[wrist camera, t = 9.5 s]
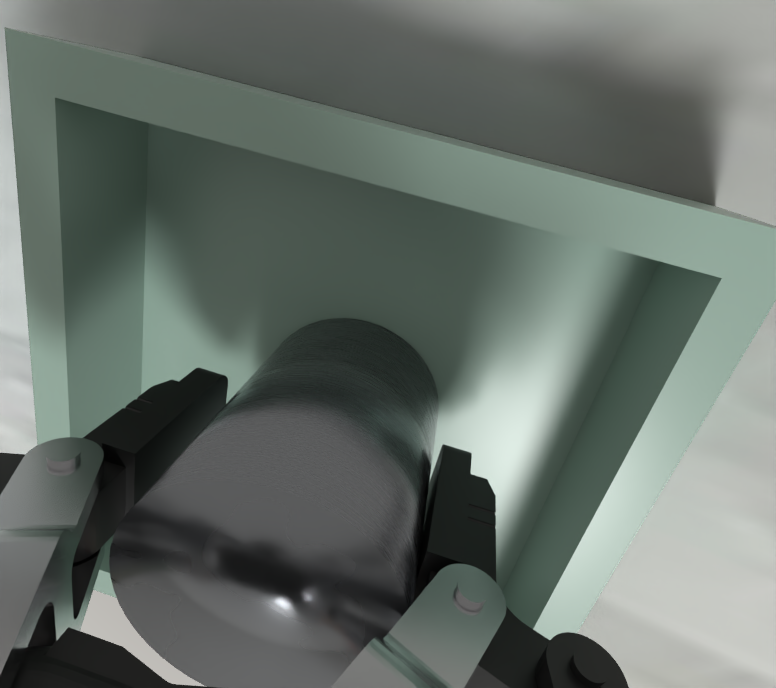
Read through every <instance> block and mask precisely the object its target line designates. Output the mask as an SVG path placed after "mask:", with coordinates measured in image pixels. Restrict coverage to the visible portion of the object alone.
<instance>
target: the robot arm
mask: <svg viewBox="0 0 776 688" xmlns="http://www.w3.org/2000/svg"><path fill="white" fill-rule="evenodd" d="M227 389H228V378H227V377H226V376H225V375H222V374H218V373H215V372H212V371H209V370H206V369H202V368H196V369H194V370H193V371H192V372H190V373H189V374H188V375H187V376H185V377H184V378H183V379H181V380H180V381H176V380H169V381H166V382H163V383H160V384H157V385H154V386H152V387H150V388H149V389H148V390H146V391H145V392H144V393H142V394H141V395H140V396H138V398H137V400H136V399H134V400H133V401H132V402H130V403H129V404H128V405H126V407H125V408H122V409H121V410H120V411H118V412H117V413H115V414H114V415H113V416H111V417H110V418H109V419H107V420H106V421H105V422H103V423H102V424H101V425H99V426H98V427H97V428H95V429H94V430H93V431H91V432H90V433H89V434H87V435H86V436H85V437H83V438H78V437H66V438H58V439H53V440H50V441H47V442H44V443H41V444H39V445H37V446H36V447H34V448H33V449H31V450H30V451H29V452H28V453H26V455H23V454H10V453H0V688H218V687H203V686H188V685H176V684H171V683H168V682H167V681H165V680H164V679H162V678H161V677H160V676H159V675H157V674H156V673H155V672H154V671H153V670H151V669H150V668H149V667H147V666H146V665H145V664H143V663H142V662H141V661H140V660H139V659H137V658H136V657H135V656H133V655H132V654H131V653H130V652H128V651H127V650H126V649H125V648H123V647H122V646H119V645H116V644H113V643H111V642H108V641H105V640H102V639H100V638H97V637H94V636H91V635H89V634H86V633H83V632H80V629H81V626H82V622H83V620H84V616H85V613H86V610H87V607H88V604H89V601H90V598H91V594H92V591H93V588H94V585H95V582H96V579H97V576H98V573H99V570H100V567H101V563H102V560H103V557H104V553H105V543H106V542H107V541H108V540H109V539H110V538H111V537H112V536H113V534H114V533H115V531H116V529H117V528H118V526H119V524H120V522H121V520H122V519H123V518H124V517H125V515H126V514H127V513H128V512H129V510H130V509H131V508H132V507H133V506H134V505H135V504H136V503H137V502H138V500H139V499H140V498H141V497H142V496H143V495H144V494H145V493H146V492H147V491H148V489H149V488H150V487H151V486H152V485H153V484H154V483H155V482H156V481H157V480H158V478H159V477H160V476H161V475H162V474H163V473H164V472H165V471H166V470H167V469H168V467H169V466H170V465H171V464H172V463H173V462H174V461H175V460H176V459H177V458H178V456H179V455H180V454H181V453H182V452H183V451H184V450H185V449H186V448H187V447H188V445H189V444H190V443H191V442H192V441H193V440H194V439H195V438H196V437H197V436H198V434H199V433H200V432H201V431H202V430H203V429H204V428H205V427H206V426H207V425H208V423H209V422H210V421H211V420H212V419H213V418H214V417H215V416H216V415H217V414H218V412H219V411H220V410H221V409H222V408H223V407H224V406H225V405H226V398H227ZM471 459H472V453H470V452H467V451H464V450H461V449H458V448H454V447H451V446H448V445H445V444H443V445H442V447H441V450H440V453H439V456H438V459H437V462H436V465H435V468H434V471H433V473H432V476H431V479H430V482H429V488H428V496H427V504H426V511H425V519H424V526H423V534H422V542H421V549H420V557H419V564H418V572H417V579H416V587H415V595H414V602H413V604H412V605H411V606H410V607H409V609H408V610H407V611H406V612H405V614H404V615H403V616H402V617H401V618H400V620H399V621H398V622H397V623H396V624H395V626H394V627H393V628H392V629H391V631H390V632H389V633H388V634H387V635H386V636H385V637H384V638H383V639H381V638H380V637H375V638H374V639H373V640H371V641H370V642H369V643H368V644H367V645H366V647H365V648H364V649H363V650H362V651H361V652H360V654H359V655H358V656H357V657H356V658H355V659H354V661H353V662H352V663H351V664H350V665H349V666H348V668H347V669H346V670H345V671H344V672H343V674H342V675H341V676H340V677H339V678H338V679H337V681H336V682H335V683H334V684H333V685H332V686H331V688H629V687H628V684H627V682H626V679H625V677H624V675H623V672H622V671H621V669H620V667H619V666H618V664H617V663H616V661H615V660H614V659H613V657H612V656H611V655H610V654H609V653H608V652H607V651H606V650H605V649H604V648H602V647H601V646H600V645H599V644H597V643H596V642H594V641H593V640H591V639H589V638H588V637H585V636H583V635H580V634H577V633H571V632H565V633H560V634H557V635H556V636H554V637H553V638H552V639H551V640H549V639H547V638H546V637H544V636H543V635H541V634H539V633H538V632H536V631H535V630H533V629H532V628H530V627H529V626H527V625H526V624H524V623H523V622H522V621H520V620H519V619H518V618H517V617H516V616H515V615H514V614H513V613H512V612H511V611H510V610H509V609H508V607H507V606H506V601H505V597H504V595H503V592H502V591H501V589H500V587H499V586H498V584H497V582H496V529H495V527H496V515H495V513H496V496H495V494H494V492H493V490H492V488H491V486H490V484H489V482H488V480H487V479H485V478H482V477H479V476H476V475H472V474H471Z"/></svg>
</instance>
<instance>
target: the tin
mask: <svg viewBox="0 0 776 688" xmlns="http://www.w3.org/2000/svg"><path fill="white" fill-rule="evenodd" d="M438 410H439V401H438V393H437V388H436V384H435V381H434V379H433V376H432V374H431V372H430V370H429V368H428V366H427V364H426V363H425V361H424V360H423V359H422V357H421V356H420V355H419V353H418V352H417V351H416V350H415V349H414V348H413V347H412V346H411V345H410V344H409V343H407V342H406V341H405V340H404V339H403V338H401V337H400V336H398V335H397V334H395V333H393V332H392V331H390V330H388V329H386V328H384V327H382V326H380V325H377V324H374V323H371V322H368V321H363V320H358V319H350V318H332V319H326V320H320V321H317V322H314V323H311V324H308V325H306V326H304V327H302V328H300V329H298V330H297V331H295V332H294V333H292V334H291V335H290V336H289V337H287V338H286V339H285V340H284V341H283V342H282V343H281V344H280V345H279V347H278V348H277V349H276V350H275V351H274V352H273V353H272V354H271V355H270V356H269V357H268V359H267V360H266V361H265V362H264V363H263V364H262V365H261V366H260V367H259V368H258V370H257V371H256V372H255V373H254V374H253V375H252V376H251V377H250V378H249V379H248V381H247V382H246V383H245V384H244V385H243V386H242V387H241V388H240V389H239V390H238V392H237V393H236V394H235V395H234V396H233V397H232V398H231V399H230V400H229V401H228V403H227V404H226V405H225V406H224V407H223V408H222V409H221V410H220V411H219V412H218V414H217V415H216V416H215V417H214V418H213V419H212V420H211V421H210V422H209V423H208V425H207V426H206V427H205V428H204V429H203V430H202V431H201V432H200V433H199V434H198V436H197V437H196V438H195V439H194V440H193V441H192V442H191V443H190V444H189V445H188V447H187V448H186V449H185V450H184V451H183V452H182V453H181V454H180V455H179V456H178V458H177V459H176V460H175V461H174V462H173V463H172V464H171V465H170V466H169V467H168V469H167V470H166V471H165V472H164V473H163V474H162V475H161V476H160V477H159V478H158V480H157V481H156V482H155V483H154V484H153V485H152V486H151V487H150V488H149V489H148V491H147V492H146V493H145V494H144V495H143V496H142V497H141V498H140V499H139V500H138V502H137V503H136V504H135V505H134V506H133V507H132V508H131V509H130V510H129V512H128V513H127V514H126V515H125V517H124V518H123V519H122V520H121V522H120V524H119V526H118V528H117V529H116V531H115V533H114V536H113V540H112V543H111V547H110V556H109V567H110V577H111V581H112V585H113V589H114V592H115V594H116V597H117V599H118V602H119V604H120V606H121V608H122V609H123V611H124V613H125V615H126V617H127V618H128V620H129V621H130V623H131V624H132V625H133V627H134V628H135V630H136V631H137V632H138V633H139V634H140V636H141V637H142V638H143V639H144V640H145V641H146V642H147V643H148V645H149V646H151V647H152V648H153V649H154V650H155V651H156V652H157V653H158V654H159V655H160V656H161V657H162V658H164V659H165V660H166V661H168V662H169V663H170V664H171V665H173V666H174V667H175V668H177V669H178V670H180V671H181V672H183V673H184V674H186V675H187V676H189V677H190V678H192V679H194V680H196V681H198V682H199V683H201V684H203V685H205V686H207V687H218V688H331V686H332V685H333V684H334V683H335V682H336V681H337V679H338V678H339V677H340V676H341V675H342V674H343V672H344V671H345V670H346V669H347V668H348V666H349V665H350V664H351V663H352V662H353V661H354V659H355V658H356V657H357V656H358V655H359V654H360V652H361V651H362V650H363V649H364V648H365V647H366V645H367V644H368V643H369V642H370V641H371V640H373V639H374V638H375V637H380V638H381V639H383V638H384V637H385V636H386V635H387V634H388V633H389V632H390V631H391V629H392V628H393V627H394V626H395V624H396V623H397V622H398V621H399V620H400V618H401V617H402V616H403V615H404V614H405V612H406V611H407V610H408V609H409V607H410V606H411V605H412V604H413V602H414V595H415V587H416V579H417V572H418V564H419V557H420V549H421V542H422V534H423V526H424V519H425V511H426V504H427V496H428V488H429V481H430V473H431V466H432V458H433V451H434V443H435V435H436V428H437V420H438Z"/></svg>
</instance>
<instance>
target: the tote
mask: <svg viewBox="0 0 776 688" xmlns="http://www.w3.org/2000/svg"><path fill="white" fill-rule="evenodd" d="M5 39H6V51H7V64H8V77H9V89H10V102H11V115H12V127H13V140H14V152H15V165H16V178H17V190H18V203H19V216H20V228H21V241H22V254H23V266H24V279H25V292H26V304H27V317H28V329H29V342H30V355H31V367H32V380H33V393H34V405H35V418H36V431H37V443H38V445H39V444H41V443H44V442H47V441H50V440H53V439H58V438H66V437H78V438H83V437H85V436H86V435H87V434H89V433H90V432H91V431H93V430H94V429H95V428H97V427H98V426H99V425H101V424H102V423H103V422H105V421H106V420H107V419H109V418H110V417H111V416H113V415H114V414H115V413H117V412H118V411H120V410H121V409H122V408H125V407H126V405H128V404H129V403H130V402H132V401H133V400H134V399H136V400H137V398H138V396H140V395H141V394H142V393H144V392H145V391H146V390H148V389H149V388H150V387H152V386H154V385H157V384H160V383H163V382H166V381H169V380H176V381H180V380H181V379H183V378H184V377H185V376H187V375H188V374H189V373H190V372H192V371H193V370H194V369H196V368H202V369H206V370H209V371H212V372H215V373H218V374H222V375H225V376H226V377H227V378H228V389H227V398H226V404H227V403H228V401H229V400H230V399H231V398H232V397H233V396H234V395H235V394H236V393H237V392H238V390H239V389H240V388H241V387H242V386H243V385H244V384H245V383H246V382H247V381H248V379H249V378H250V377H251V376H252V375H253V374H254V373H255V372H256V371H257V370H258V368H259V367H260V366H261V365H262V364H263V363H264V362H265V361H266V360H267V359H268V357H269V356H270V355H271V354H272V353H273V352H274V351H275V350H276V349H277V348H278V347H279V345H280V344H281V343H282V342H283V341H284V340H285V339H286V338H287V337H289V336H290V335H291V334H292V333H294V332H295V331H297V330H298V329H300V328H302V327H304V326H306V325H308V324H311V323H314V322H317V321H320V320H326V319H332V318H350V319H358V320H363V321H368V322H371V323H374V324H377V325H380V326H382V327H384V328H386V329H388V330H390V331H392V332H393V333H395V334H397V335H398V336H400V337H401V338H403V339H404V340H405V341H406V342H407V343H409V344H410V345H411V346H412V347H413V348H414V349H415V350H416V351H417V352H418V353H419V355H420V356H421V357H422V359H423V360H424V361H425V363H426V364H427V366H428V368H429V370H430V372H431V374H432V376H433V379H434V381H435V384H436V388H437V393H438V401H439V410H438V420H437V428H436V435H435V443H434V451H433V458H432V466H431V473H430V479H431V476H432V473H433V471H434V468H435V465H436V462H437V459H438V456H439V453H440V450H441V447H442V445H443V444H445V445H448V446H451V447H454V448H458V449H461V450H464V451H467V452H470V453H472V459H471V474H472V475H476V476H479V477H482V478H485V479H487V480H488V482H489V484H490V486H491V488H492V490H493V492H494V494H495V496H496V513H495V515H496V527H495V529H496V582H497V584H498V586H499V587H500V589H501V591H502V592H503V595H504V597H505V601H506V606H507V607H508V609H509V610H510V611H511V612H512V613H513V614H514V615H515V616H516V617H517V618H518V619H519V620H520V621H522V622H523V623H524V624H526V625H527V626H529V627H530V628H532V629H533V630H535V631H536V632H538V633H539V634H541V635H543V636H544V637H546V638H547V639H549V640H551V639H552V638H553V637H554V636H556V635H557V634H560V633H565V632H571V633H577V632H578V631H579V629H580V627H581V626H582V624H583V622H584V621H585V619H586V617H587V616H588V614H589V612H590V611H591V609H592V607H593V605H594V604H595V602H596V600H597V599H598V597H599V595H600V594H601V592H602V590H603V589H604V587H605V585H606V584H607V582H608V580H609V579H610V577H611V575H612V574H613V572H614V570H615V569H616V567H617V565H618V564H619V562H620V560H621V559H622V557H623V555H624V554H625V552H626V550H627V549H628V547H629V545H630V544H631V542H632V540H633V539H634V537H635V535H636V533H637V532H638V530H639V528H640V527H641V525H642V523H643V522H644V520H645V518H646V517H647V515H648V513H649V512H650V510H651V508H652V507H653V505H654V503H655V502H656V500H657V498H658V497H659V495H660V493H661V492H662V490H663V488H664V487H665V485H666V483H667V482H668V480H669V478H670V477H671V475H672V473H673V472H674V470H675V468H676V467H677V465H678V463H679V462H680V460H681V458H682V456H683V455H684V453H685V451H686V450H687V448H688V446H689V445H690V443H691V441H692V440H693V438H694V436H695V435H696V433H697V431H698V430H699V428H700V426H701V425H702V423H703V421H704V420H705V418H706V416H707V415H708V413H709V411H710V410H711V408H712V406H713V405H714V403H715V401H716V400H717V398H718V396H719V395H720V393H721V391H722V390H723V388H724V386H725V384H726V383H727V381H728V379H729V378H730V376H731V374H732V373H733V371H734V369H735V368H736V366H737V364H738V363H739V361H740V359H741V358H742V356H743V354H744V353H745V351H746V349H747V348H748V346H749V344H750V343H751V341H752V339H753V338H754V336H755V334H756V333H757V331H758V329H759V328H760V326H761V324H762V323H763V321H764V319H765V318H766V316H767V314H768V313H769V311H770V309H771V307H772V306H773V304H774V302H775V301H776V226H773V225H770V224H767V223H764V222H761V221H758V220H755V219H752V218H749V217H746V216H743V215H740V214H737V213H734V212H731V211H728V210H725V209H722V208H719V207H716V206H712V205H708V204H704V203H700V202H697V201H693V200H689V199H685V198H681V197H677V196H673V195H670V194H666V193H662V192H658V191H654V190H650V189H647V188H643V187H639V186H635V185H631V184H627V183H623V182H620V181H616V180H612V179H608V178H604V177H600V176H597V175H593V174H589V173H585V172H581V171H577V170H573V169H570V168H566V167H562V166H558V165H554V164H550V163H547V162H543V161H539V160H535V159H531V158H527V157H524V156H520V155H516V154H512V153H508V152H504V151H500V150H497V149H493V148H489V147H485V146H481V145H477V144H474V143H470V142H466V141H462V140H458V139H454V138H450V137H447V136H443V135H439V134H435V133H431V132H427V131H424V130H420V129H416V128H412V127H408V126H404V125H400V124H397V123H393V122H389V121H385V120H381V119H377V118H374V117H370V116H366V115H362V114H358V113H354V112H350V111H347V110H343V109H339V108H335V107H331V106H327V105H324V104H320V103H316V102H312V101H308V100H304V99H300V98H297V97H293V96H289V95H285V94H281V93H277V92H274V91H270V90H266V89H262V88H258V87H254V86H250V85H247V84H243V83H239V82H235V81H231V80H227V79H224V78H220V77H216V76H212V75H208V74H204V73H201V72H197V71H193V70H189V69H185V68H181V67H177V66H174V65H170V64H166V63H162V62H158V61H154V60H151V59H147V58H143V57H139V56H134V55H130V54H125V53H121V52H116V51H111V50H107V49H102V48H97V47H93V46H88V45H83V44H79V43H74V42H70V41H65V40H60V39H56V38H51V37H46V36H42V35H37V34H32V33H28V32H23V31H19V30H14V29H9V28H5ZM429 482H430V481H429ZM113 536H114V534H113ZM113 536H112V537H111V538H110V539H109V540H108V541H107V542H106V543H105V553H104V557H103V560H102V563H101V567H100V570H99V573H98V576H97V579H96V582H95V585H94V588H93V590H96V591H99V592H102V593H104V594H107V595H110V596H113V597H116V594H115V592H114V589H113V585H112V581H111V577H110V567H109V556H110V547H111V543H112V540H113ZM116 598H117V597H116Z"/></svg>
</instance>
